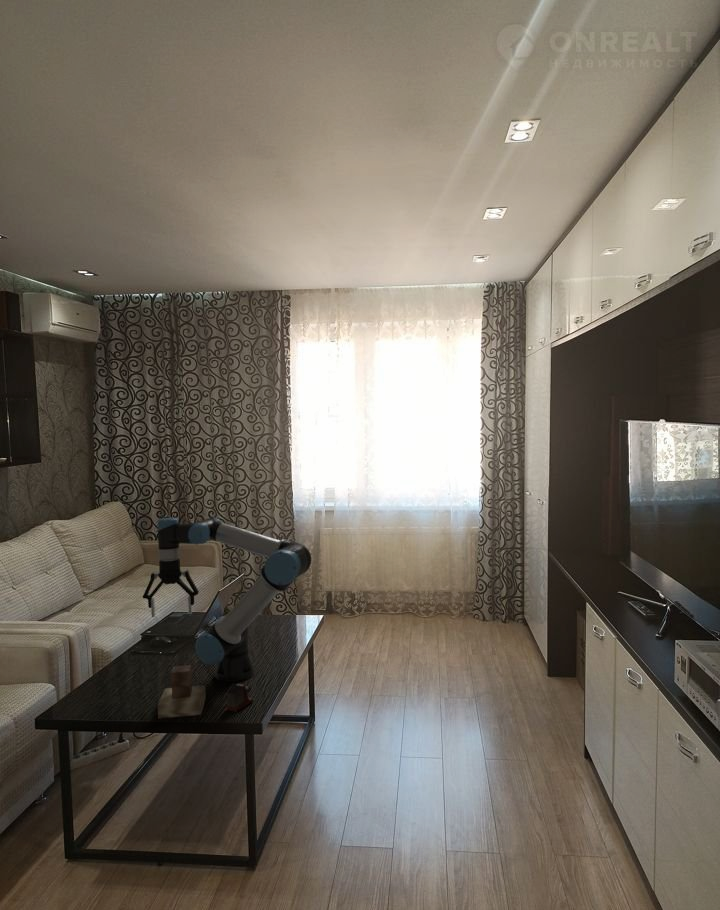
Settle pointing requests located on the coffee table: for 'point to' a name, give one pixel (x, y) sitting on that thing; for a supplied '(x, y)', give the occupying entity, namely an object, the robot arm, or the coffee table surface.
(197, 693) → the oak block
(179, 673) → the walnut block
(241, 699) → the electronic device
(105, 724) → the coffee table surface
